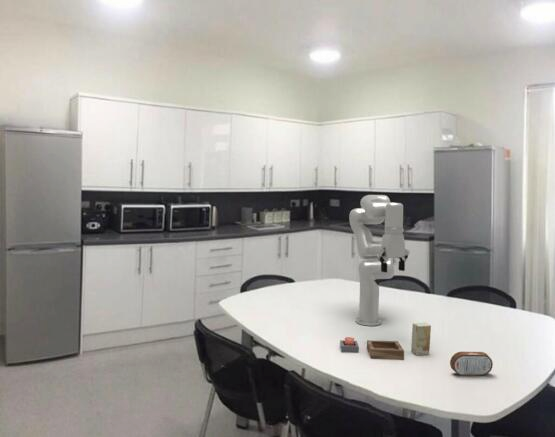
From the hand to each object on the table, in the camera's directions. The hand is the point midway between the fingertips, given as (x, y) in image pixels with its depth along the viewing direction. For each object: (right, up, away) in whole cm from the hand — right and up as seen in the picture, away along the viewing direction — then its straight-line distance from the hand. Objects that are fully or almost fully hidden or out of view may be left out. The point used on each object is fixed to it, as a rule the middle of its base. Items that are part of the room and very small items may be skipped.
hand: (392, 271), depth 193 cm
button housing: (-20, -32, -5) cm, 38 cm away
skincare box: (+9, -33, -8) cm, 35 cm away
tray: (-6, -33, -9) cm, 35 cm away
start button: (-20, -31, -5) cm, 37 cm away
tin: (+21, -35, -29) cm, 50 cm away
